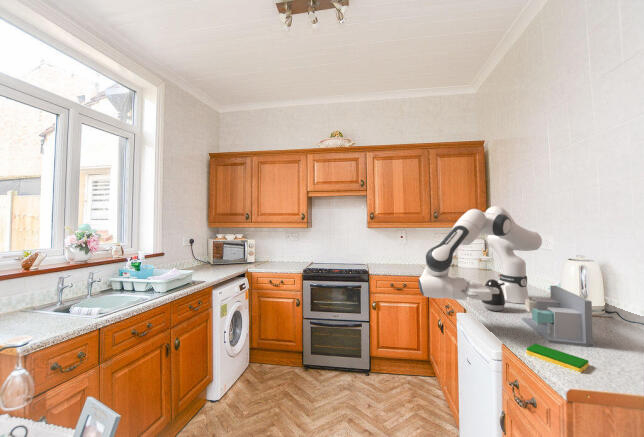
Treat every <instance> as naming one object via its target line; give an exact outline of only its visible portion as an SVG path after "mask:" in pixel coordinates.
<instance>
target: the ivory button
mask: <svg viewBox="0 0 644 437" xmlns="http://www.w3.org/2000/svg"><path fill="white" fill-rule="evenodd" d="M529 299H530V298H529ZM529 299H525V303H524V305H525V307H524V309H525V310H526V311H527V312H528V313H532V308H535V309H537V302H536V301H531V299H530V300H529Z"/></svg>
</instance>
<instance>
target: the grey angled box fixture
mask: <svg viewBox="0 0 644 437" xmlns="http://www.w3.org/2000/svg"><path fill="white" fill-rule="evenodd" d="M530 301H536V302H537V310H543V311H552V312H553V313H554V323H544V322H541V324H538V323H536V322H535V321H534V320H532V317H531V318H530V317H522V318H521V320H522V321H523V322H524V323H525V324H526V325H527V326H528V327H530V328H531V329H532V330H533V331H535V332H536V334H538V335H539V336H540V337H541V338H542V339H544V340H545V341H546V342H547V343H549V344H556V345H557V344H558V345H560V344H561V345H567V346H569V345H570V346H577V347H578V346H580V347H588V348H597V343H595V342H594V337H593V334H594V332H593V305H592V304H593V302H592V300H589V299H587V298H585V297H583V296H580V295H578V294H575V293H574V292H571V291H568V290H566V289H564V288H561V287H559V286H558V285H550V298H548V297H547V298H546V297H545V298H544V297H531V299H530Z"/></svg>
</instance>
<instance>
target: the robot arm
mask: <svg viewBox="0 0 644 437" xmlns="http://www.w3.org/2000/svg"><path fill="white" fill-rule="evenodd" d="M480 235H485V236H487V237H486V242H487V244H488V246H489V247H490V248H492V249H493V250H494V252H496V253H497V255H498V257H499V259H500V262H501V264H500V265H501V273H500V274H499V273H498V275H497V277H499V279H498V280H497V281H498V283H505V285H502V286H501V288H502V290H503V293H504V297H505V303H512V304H525V299H529V300H530V301H531V299H530V295H529V291H528V276H527V267H526V266H527V264H526V261H525V260H524V259H523V258H521V257H520V256H517V255H516V254H515V252H514V251H521V252H529V251H531V252H532V251H538V250H539V249H540V248H541V246H542V245H543V244H542V243H543V239H542V236H541V235H540V234H539V233H538V232H537V231H536V232H535V231H532V230H529V229H526V228H525V227H523V226H521V225H520V224H517V223H516V221H515V220H514V219H513V217H512V215H511V214H510V213H509V212H508V211H507V210H506V209H505V208H503V207H501V206H500V205H499V206H498V205H494V206H490V207H489V208H487V209H486V210H485V212H484V211H482V210H480V209H478V208H471V209H469V210H468V211H466V212H465V213H463V215H461V216H460V217H459V218H458V219H457V221H456V222H455V223H454V225H453V227H452V228H451V230H450V231H449V233H448V234H447V235H446V236H445V238H443V239H442V241H441V242H439V244H437V245H434V246H433V247H431V248H430V249H428V250H427V252H426V254H425V268H424V270H423V272H422V274H421V276H420V277H418V281H417V284H418V289H419V291H420V294H422V295H423V296H424V297H427V298H431V299H451V300H460V301H461V300H462V301H466V300H467V298H469V299H470V300H477V301H482V300H485V301H490V300H492V294H499V289H497V288H493V287H488V286H485V284H483V283H481V281H480V280H477V279H476V280H475V279H468V278H467V279H465V277H460V276H459V277H458V276H456V277H452V276H451V277H450V276H449V273H450V269H451V265H452V262H453V257H454V253H455V252H456V250H457V249H458V248H459V247H460V246H461V245H462V246H469V245H471V244H473V242H475V241H476V239H478V237H479V236H480Z"/></svg>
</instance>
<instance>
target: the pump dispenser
mask: <svg viewBox="0 0 644 437" xmlns="http://www.w3.org/2000/svg"><path fill="white" fill-rule="evenodd" d="M502 285H505V283H498V280H496V279H488V280H487V281H486V283H485V284H484V286H488V287H493V288H497V289H499V294H492V300H490V301H485V300H481V302H482V305H483V306H484V308H485V309H486V310H489V311H491V310H492V312H499V311H502V310H503V309H504V307H505V305H506V302H505V297H504V293H503V290H502V288H501V286H502Z"/></svg>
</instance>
